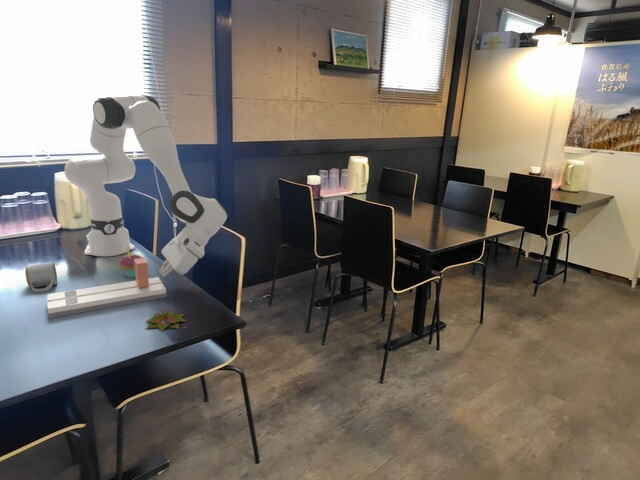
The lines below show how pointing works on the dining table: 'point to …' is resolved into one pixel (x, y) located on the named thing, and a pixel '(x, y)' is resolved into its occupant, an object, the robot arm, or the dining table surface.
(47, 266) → the ceramic mug
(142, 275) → the fader
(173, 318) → the lily flower
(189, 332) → the dining table surface
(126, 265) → the cupcake
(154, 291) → the white slider track base
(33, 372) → the dining table surface
